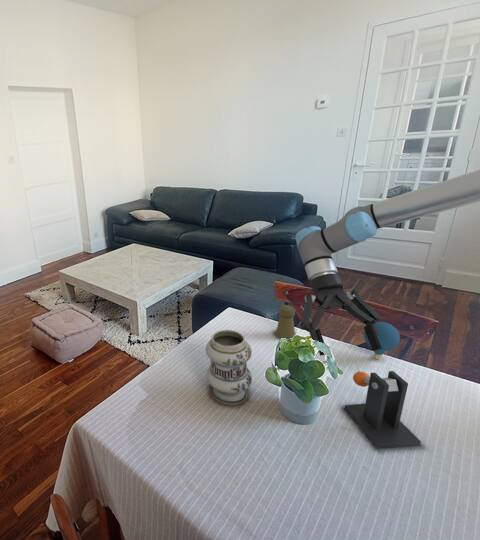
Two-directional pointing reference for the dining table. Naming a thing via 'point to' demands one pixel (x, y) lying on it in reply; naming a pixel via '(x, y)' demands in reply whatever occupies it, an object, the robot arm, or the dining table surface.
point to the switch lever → (364, 378)
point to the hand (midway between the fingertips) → (350, 352)
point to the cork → (286, 322)
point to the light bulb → (385, 338)
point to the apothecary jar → (228, 366)
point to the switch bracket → (383, 414)
